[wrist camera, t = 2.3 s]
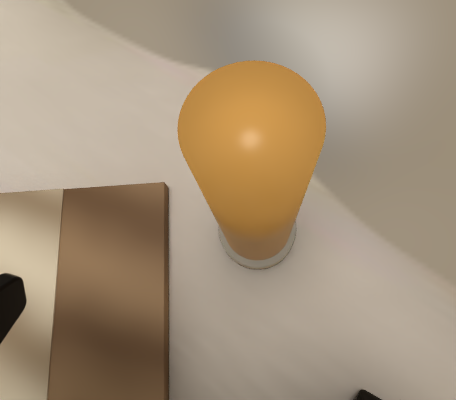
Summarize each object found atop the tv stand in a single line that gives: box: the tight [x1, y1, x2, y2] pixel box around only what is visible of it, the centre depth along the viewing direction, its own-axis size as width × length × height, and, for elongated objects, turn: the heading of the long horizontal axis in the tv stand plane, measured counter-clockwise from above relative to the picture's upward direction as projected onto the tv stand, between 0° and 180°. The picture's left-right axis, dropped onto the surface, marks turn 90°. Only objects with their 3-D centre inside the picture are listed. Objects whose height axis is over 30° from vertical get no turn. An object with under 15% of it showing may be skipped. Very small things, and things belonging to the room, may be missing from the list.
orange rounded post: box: [178, 61, 326, 269], centre depth 15 cm, size 4×4×13 cm
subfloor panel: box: [0, 182, 169, 400], centre depth 20 cm, size 16×12×1 cm
